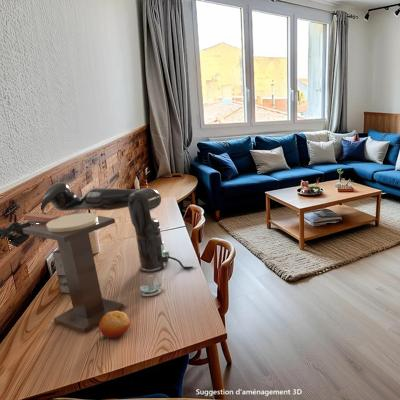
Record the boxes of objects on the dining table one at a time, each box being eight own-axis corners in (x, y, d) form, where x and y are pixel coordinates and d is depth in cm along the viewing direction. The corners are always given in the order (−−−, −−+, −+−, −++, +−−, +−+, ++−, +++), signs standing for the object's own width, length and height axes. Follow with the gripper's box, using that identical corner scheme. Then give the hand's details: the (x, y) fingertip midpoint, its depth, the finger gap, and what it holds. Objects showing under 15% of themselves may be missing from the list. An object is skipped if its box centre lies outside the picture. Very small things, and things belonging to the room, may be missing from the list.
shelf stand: (47, 322, 109) (22, 228, 100) (93, 296, 123) (75, 211, 114) (86, 336, 102) (63, 237, 93) (130, 307, 116) (114, 218, 107)
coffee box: (75, 294, 125) (66, 253, 120) (60, 292, 126) (50, 252, 121) (94, 281, 133) (86, 243, 129) (80, 279, 135) (72, 241, 130)
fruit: (101, 322, 106) (111, 302, 105) (126, 332, 108) (136, 312, 106) (88, 340, 99) (99, 318, 97) (115, 350, 100) (126, 329, 99)
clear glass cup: (162, 295, 124) (162, 286, 129) (159, 280, 122) (160, 271, 127) (140, 299, 121) (141, 290, 127) (137, 283, 119) (138, 275, 125)
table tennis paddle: (6, 225, 102) (4, 220, 102) (48, 212, 114) (47, 207, 114) (70, 234, 95) (69, 228, 95) (108, 218, 107) (107, 213, 106)
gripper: (-19, 235, 112) (0, 216, 104) (28, 220, 124) (48, 203, 117) (-7, 255, 112) (13, 238, 105) (39, 238, 125) (60, 222, 117)
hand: (32, 219), depth 111 cm, fingers open, 8 cm apart
